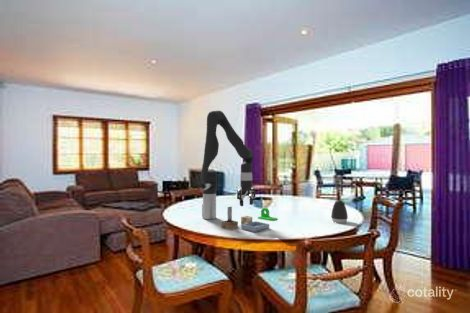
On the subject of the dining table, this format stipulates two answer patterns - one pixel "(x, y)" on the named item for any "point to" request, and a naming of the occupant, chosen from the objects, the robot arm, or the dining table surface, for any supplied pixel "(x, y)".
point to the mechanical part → (266, 215)
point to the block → (246, 219)
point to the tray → (255, 226)
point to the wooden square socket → (229, 225)
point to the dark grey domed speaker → (339, 212)
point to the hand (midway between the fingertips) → (246, 205)
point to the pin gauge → (229, 214)
